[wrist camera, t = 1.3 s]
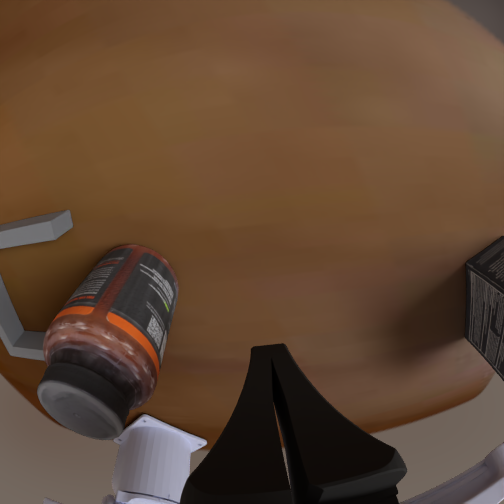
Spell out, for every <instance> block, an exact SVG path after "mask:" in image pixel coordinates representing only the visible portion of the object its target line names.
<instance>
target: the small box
mask: <svg viewBox="0 0 504 504" xmlns="http://www.w3.org/2000/svg"><path fill="white" fill-rule="evenodd" d="M466 288H467V289H466V292H467V294H466V296H467V299H466V329H465V338H466V339H467V340H468V341H469V342H470V343H471V344H472V345H473V347H475V349H476V350H477V351H478V352H479V353H480V354H481V355H482V356H483V357H484V358H485V360H486V361H487V362H488V363H489V364H490V365H491V366H492V368H493V369H494V370H495V371H496V373H497V374H498V375H499V376H500V377H501V378H502V380H503V381H504V236H502V237H501V238H499V239H498V240H497V241H495V242H494V243H493V244H491V245H490V246H488V247H487V248H486V249H484V250H483V251H481V252H480V253H479V254H477V255H476V256H474V257H473V258H471V259H470V260H469V261H467V262H466Z"/></svg>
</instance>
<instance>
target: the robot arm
mask: <svg viewBox="0 0 504 504" xmlns="http://www.w3.org/2000/svg"><path fill="white" fill-rule="evenodd" d="M273 402H274V404H273ZM274 406H275V410H276V414H277V418H278V422H279V426H280V430H281V433H282V437H283V441H284V446H285V451H286V458H287V465H288V472H289V479H290V485H289V480H288V476H287V471H286V467H285V462H284V457H283V452H282V447H281V442H280V437H279V432H278V427H277V421H276V416H275V410H274ZM113 441H114V442H115V443H117V444H119V445H120V447H119V451H118V455H117V459H116V464H115V468H114V473H113V478H112V487H113V490H114V492H115V494H116V495H115V497H114V496H113V495H107V496H105V497H103V499H102V503H101V504H498V503H499V502H501V501H502V500H503V499H504V442H503V443H502V444H500V445H499V446H498V447H496V448H495V449H494V450H492V451H491V452H490V453H489V454H488V455H487V456H486V457H485V459H484V460H482V461H481V462H479V463H477V464H476V465H474V466H473V467H471V468H469V469H468V470H466V471H464V472H463V473H461V474H459V475H457V476H455V477H454V478H452V479H450V480H448V481H446V482H444V483H443V484H441V485H439V486H436V487H435V488H433V489H430V490H428V491H426V492H424V493H422V494H419V495H417V496H415V497H413V498H410V499H408V500H405V501H403V502H400V503H399V502H398V499H397V497H396V495H397V494H398V490H397V487H396V484H397V483H398V482H399V481H400V480H401V479H402V478H403V477H404V476H405V474H406V473H407V468H406V465H405V463H404V461H403V459H402V458H401V456H400V455H399V453H398V451H397V450H396V449H395V448H393V447H391V446H389V445H387V444H385V443H383V442H382V441H380V440H378V439H376V438H374V437H373V436H371V435H370V434H368V433H366V432H365V431H363V430H362V429H360V428H359V427H358V426H356V425H355V424H354V423H352V422H351V421H350V420H348V419H347V418H346V417H344V416H343V415H342V414H341V413H340V412H338V411H337V410H336V409H335V408H334V407H333V406H332V405H331V404H330V403H329V402H328V401H327V400H326V399H325V398H324V397H323V396H322V395H321V394H320V393H319V392H318V391H317V390H316V388H315V387H314V386H313V385H312V384H311V382H310V381H309V380H308V379H307V377H306V376H305V375H304V373H303V372H302V371H301V369H300V368H299V367H298V365H297V364H296V362H295V360H294V359H293V357H292V356H291V354H290V352H289V350H288V348H287V346H286V345H285V344H284V343H282V344H273V345H264V346H254V347H252V348H251V358H250V364H249V369H248V373H247V376H246V380H245V383H244V387H243V389H242V392H241V395H240V397H239V400H238V403H237V405H236V407H235V409H234V411H233V414H232V416H231V418H230V420H229V422H228V423H227V425H226V427H225V429H224V430H223V432H222V434H221V435H220V437H219V439H218V440H217V442H216V443H215V445H214V446H213V447H212V449H211V450H210V452H209V453H208V454H207V456H206V457H205V458H204V460H203V461H202V462H201V463H200V464H199V466H198V467H197V468H196V469H195V470H194V471H193V472H192V473H191V475H190V476H189V468H190V454H191V453H192V452H193V451H195V450H197V449H199V448H201V447H203V446H205V445H206V444H207V441H206V440H205V439H202V438H199V437H197V436H194V435H192V434H189V433H187V432H184V431H182V430H180V429H177V428H175V427H173V426H170V425H168V424H166V423H164V422H162V421H159V420H157V419H155V418H153V417H151V416H149V415H147V414H143V415H141V416H140V417H139V418H138V419H137V420H135V421H134V422H133V423H132V424H131V425H129V426H128V427H127V428H126V429H125V430H123V432H122V434H121V435H120V436H119V437H117V438H114V440H113ZM290 487H291V489H290ZM43 504H62V503H59V502H57V501H54V500H51V499H49V498H44V501H43Z"/></svg>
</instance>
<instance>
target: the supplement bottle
mask: <svg viewBox="0 0 504 504" xmlns="http://www.w3.org/2000/svg"><path fill="white" fill-rule="evenodd" d="M177 297H178V283H177V278H176V275H175V273H174V271H173V269H172V267H171V266H170V264H169V263H168V262H167V261H166V260H165V259H164V258H163V257H162V256H161V255H160V254H158V253H157V252H155V251H153V250H152V249H149V248H147V247H143V246H140V245H134V244H129V245H123V246H119V247H116V248H114V249H113V250H111V251H110V252H108V253H107V254H106V255H105V256H104V257H103V258H102V259H101V260H100V261H99V262H98V263H97V265H96V266H95V267H94V268H93V270H92V271H91V272H90V273H89V274H88V276H87V277H86V278H85V279H84V281H83V282H82V283H81V284H80V286H79V287H78V288H77V289H76V291H75V292H74V293H73V295H72V296H71V297H70V298H69V300H68V301H67V302H66V304H65V305H64V306H63V308H62V309H61V310H60V312H59V313H58V314H57V316H56V317H55V319H54V320H53V321H52V323H51V324H50V326H49V327H48V329H47V332H46V334H45V337H44V342H43V353H44V358H45V361H46V364H47V366H48V367H47V369H46V371H45V373H44V376H43V378H42V380H41V382H40V384H39V386H38V389H37V394H38V398H39V400H40V402H41V404H42V406H43V407H44V408H45V410H46V411H47V412H48V413H49V414H50V415H51V416H52V417H53V418H54V419H55V420H57V421H58V422H59V423H61V424H62V425H63V426H65V427H67V428H68V429H70V430H72V431H74V432H76V433H78V434H81V435H83V436H86V437H90V438H93V439H99V440H111V439H114V438H117V437H119V436H120V435H121V434H122V432H123V430H124V426H125V422H126V418H127V416H128V414H129V410H132V409H136V408H138V407H140V406H142V405H143V404H144V403H146V402H147V401H148V400H149V399H150V398H151V396H152V395H153V392H154V390H155V387H156V384H157V380H158V375H159V371H160V368H161V363H162V358H163V354H164V350H165V346H166V342H167V338H168V334H169V329H170V326H171V322H172V318H173V314H174V310H175V306H176V302H177Z"/></svg>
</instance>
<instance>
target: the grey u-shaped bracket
mask: <svg viewBox="0 0 504 504" xmlns="http://www.w3.org/2000/svg"><path fill="white" fill-rule="evenodd" d="M72 227H73V223H72V219H71V214H70V210H66V211H61V212H56V213H51V214H46V215H41V216H37V217H32V218H28V219H24V220H19V221H15V222H11V223H7V224H3V225H0V249H2V248H7V247H13V246H19V245H25V244H31V243H38V242H44V241H51V240H56V239H57V238H58V237H60V236H61V235H62V234H64V233H65V232H67V231H68V230H69V229H71V228H72ZM45 334H46V332H35V331H24V329H23V327H22V325H21V322H20V320H19V318H18V316H17V314H16V312H15V309H14V307H13V305H12V303H11V300H10V298H9V295H8V293H7V290H6V288H5V285H4V283H3V280H2V277H1V275H0V337H1V339H2V341H3V343H4V345H5V346H6V348H7V350H8V352H9V353H10V355H11V356H16V357H23V358H29V359H36V360H44V361H45V358H44V353H43V342H44V337H45Z"/></svg>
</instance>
